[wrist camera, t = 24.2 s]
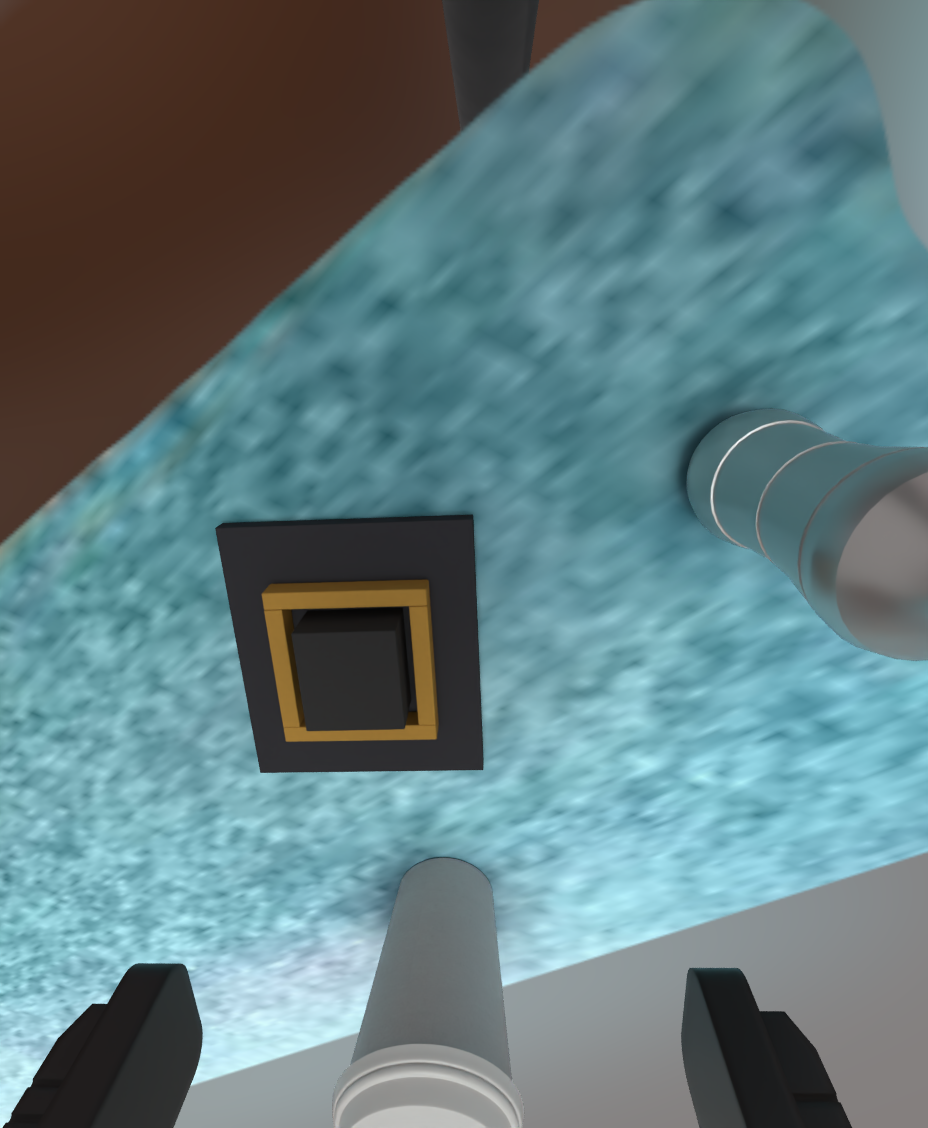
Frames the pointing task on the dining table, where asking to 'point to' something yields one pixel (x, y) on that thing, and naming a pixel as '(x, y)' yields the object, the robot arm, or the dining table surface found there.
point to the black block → (353, 669)
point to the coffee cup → (434, 1014)
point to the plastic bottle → (825, 521)
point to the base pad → (347, 582)
